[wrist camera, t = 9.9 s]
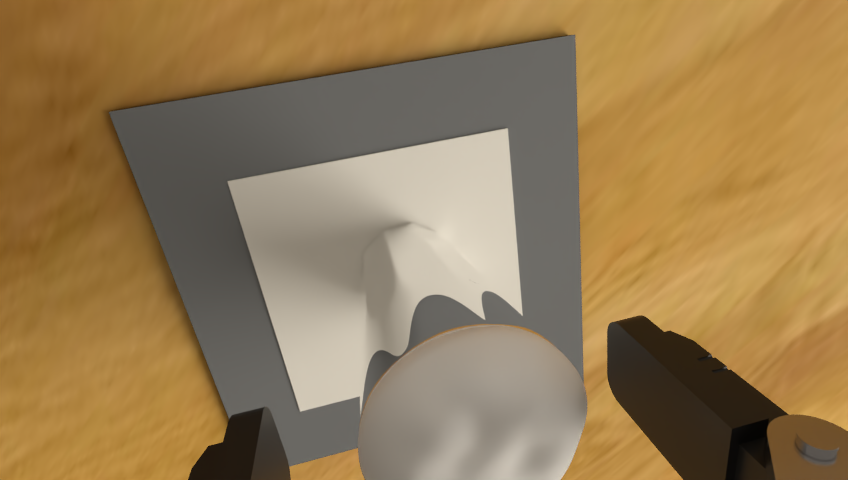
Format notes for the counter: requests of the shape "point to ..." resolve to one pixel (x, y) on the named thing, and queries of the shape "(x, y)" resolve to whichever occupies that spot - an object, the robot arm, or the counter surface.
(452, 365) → the milkshake
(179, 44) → the counter surface
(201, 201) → the pad
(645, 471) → the counter surface
